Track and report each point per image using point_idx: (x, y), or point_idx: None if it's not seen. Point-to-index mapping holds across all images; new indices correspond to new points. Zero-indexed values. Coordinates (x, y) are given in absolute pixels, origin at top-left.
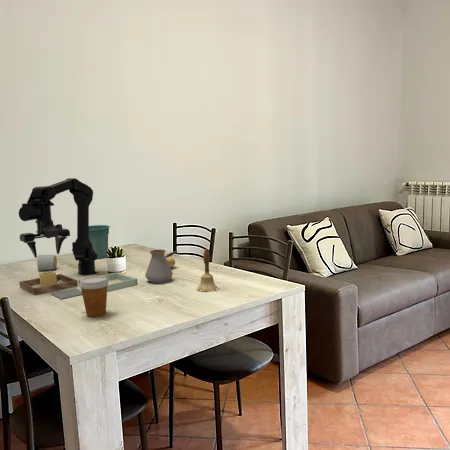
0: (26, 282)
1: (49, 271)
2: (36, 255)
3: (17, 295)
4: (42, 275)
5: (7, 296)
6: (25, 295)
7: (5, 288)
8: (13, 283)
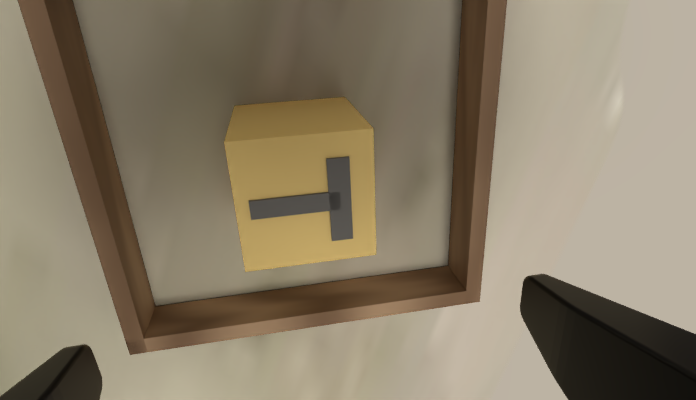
0: (429, 287)
1: (268, 255)
2: (558, 290)
3: (566, 67)
4: (371, 167)
5: (618, 94)
6: (530, 15)
7: None
8: (444, 396)
